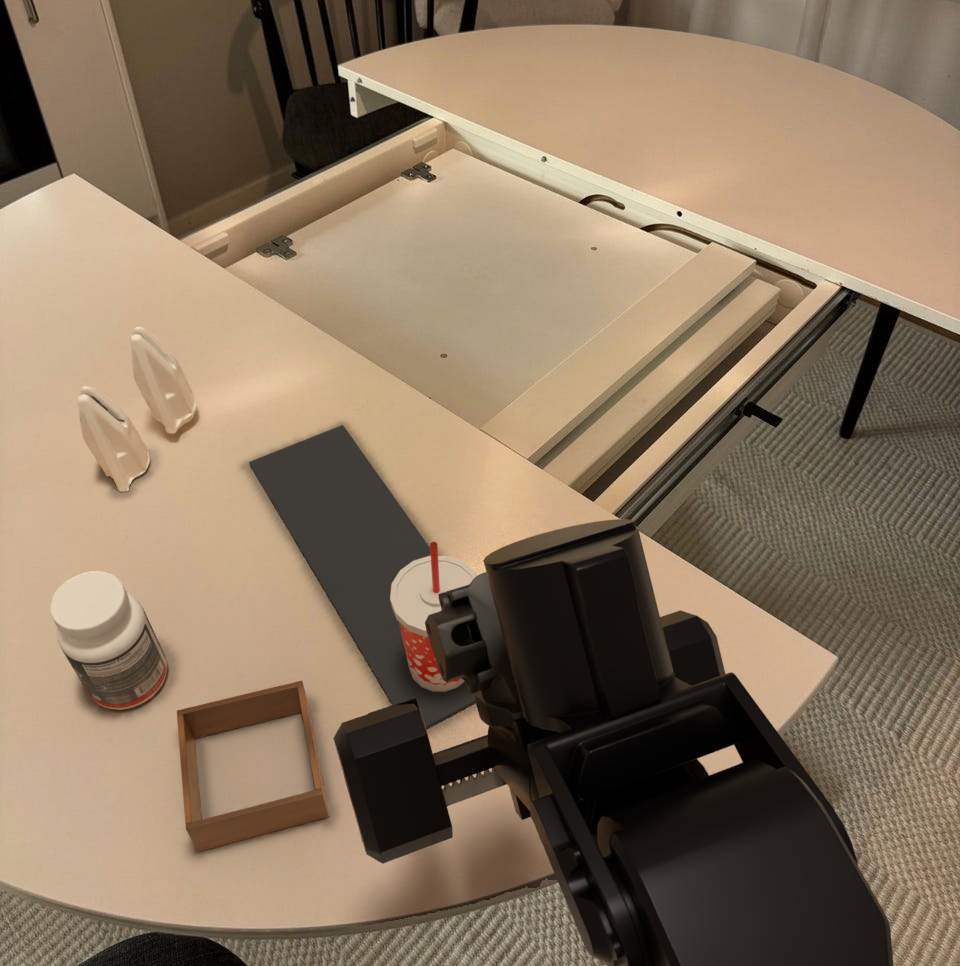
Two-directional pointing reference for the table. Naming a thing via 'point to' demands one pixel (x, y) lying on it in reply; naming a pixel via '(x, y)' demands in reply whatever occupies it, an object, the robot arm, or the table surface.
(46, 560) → the table surface
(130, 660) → the pill bottle
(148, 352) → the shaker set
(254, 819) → the square wooden frame
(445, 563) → the beverage cup
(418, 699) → the mat
